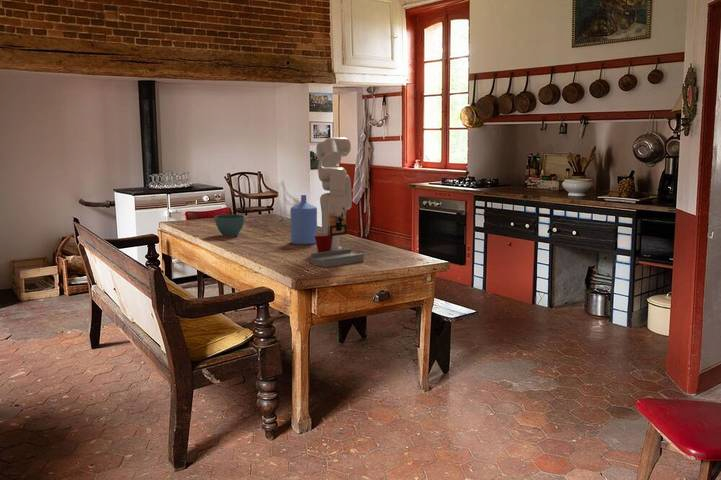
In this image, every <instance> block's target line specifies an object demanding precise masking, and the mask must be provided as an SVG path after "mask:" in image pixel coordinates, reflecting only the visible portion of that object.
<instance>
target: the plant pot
mask: <svg viewBox="0 0 721 480" xmlns="http://www.w3.org/2000/svg"><path fill="white" fill-rule="evenodd" d="M214 221H215V225H216V227H217V230H218V232H219V233H220V234H221V235H222V236H223V237H227V238H232V237H237V236H238V234H239V233H240V232H241V230H242V229H243V226H244V223H245V215H243V214H220V215H215V216H214Z"/></svg>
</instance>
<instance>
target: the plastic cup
mask: <svg viewBox="0 0 721 480" xmlns="http://www.w3.org/2000/svg"><path fill="white" fill-rule="evenodd" d="M314 237H315V240H316V243H315V244H316V249H317V253H319V252H326V251H330V250H331V245H332V239H333V236H328V233H322V232H320V233H319V232H318V233H317V234H314Z"/></svg>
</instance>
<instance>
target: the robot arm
mask: <svg viewBox="0 0 721 480" xmlns="http://www.w3.org/2000/svg"><path fill="white" fill-rule="evenodd" d="M350 141H351V140H349V138H347V137H328V138H326V139H324V140H323V141H319V142H318V143H317V144H316V149H315V150H316V155H317V159H318V165H317V173H318V174H317V175H318V178H319V181H320V182H321V186H322V189H323V190H324V191H327V192H325V193H322V194H321V196H320V198H319V203H320V211H321V233H328V226H329V213H330V212H331V219H332V212H333V216H334V219H335V217H337V223H336V231H340V230H342V222H343V219H345V218H346V219H347V210H348V211H349V210H350V209H351V208H352V206H353V204H352V203H353V199H352V198H353V197H352V194H353V193H352V180H351V177H350V176H349V174H348V172H347V170H346V169H345V167H342V166H337V164H339V163H341V160H342V157H347V156H348V155H349V154H350V153H351V149H352V146H351V145H352V144H351V142H350ZM328 191H329V192H328ZM345 216H346V217H345ZM341 249H343V247H342V246H340V235H337V236H333V239H332V245H331V250H330V251H333V250H341Z"/></svg>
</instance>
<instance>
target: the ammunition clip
mask: <svg viewBox="0 0 721 480" xmlns="http://www.w3.org/2000/svg"><path fill="white" fill-rule="evenodd" d="M345 217H346V218H345V219H343V222H342V230H340V231H336V223H337V217H335V219H334V216H333V212H332V219H331V212H330V213H329V226H328V236H337V235H339V236H343V235H345V236H346V235H348V232H347V231H348V230H347V229H348V227H347V226H348V225H347V215H346V216H345Z"/></svg>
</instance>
